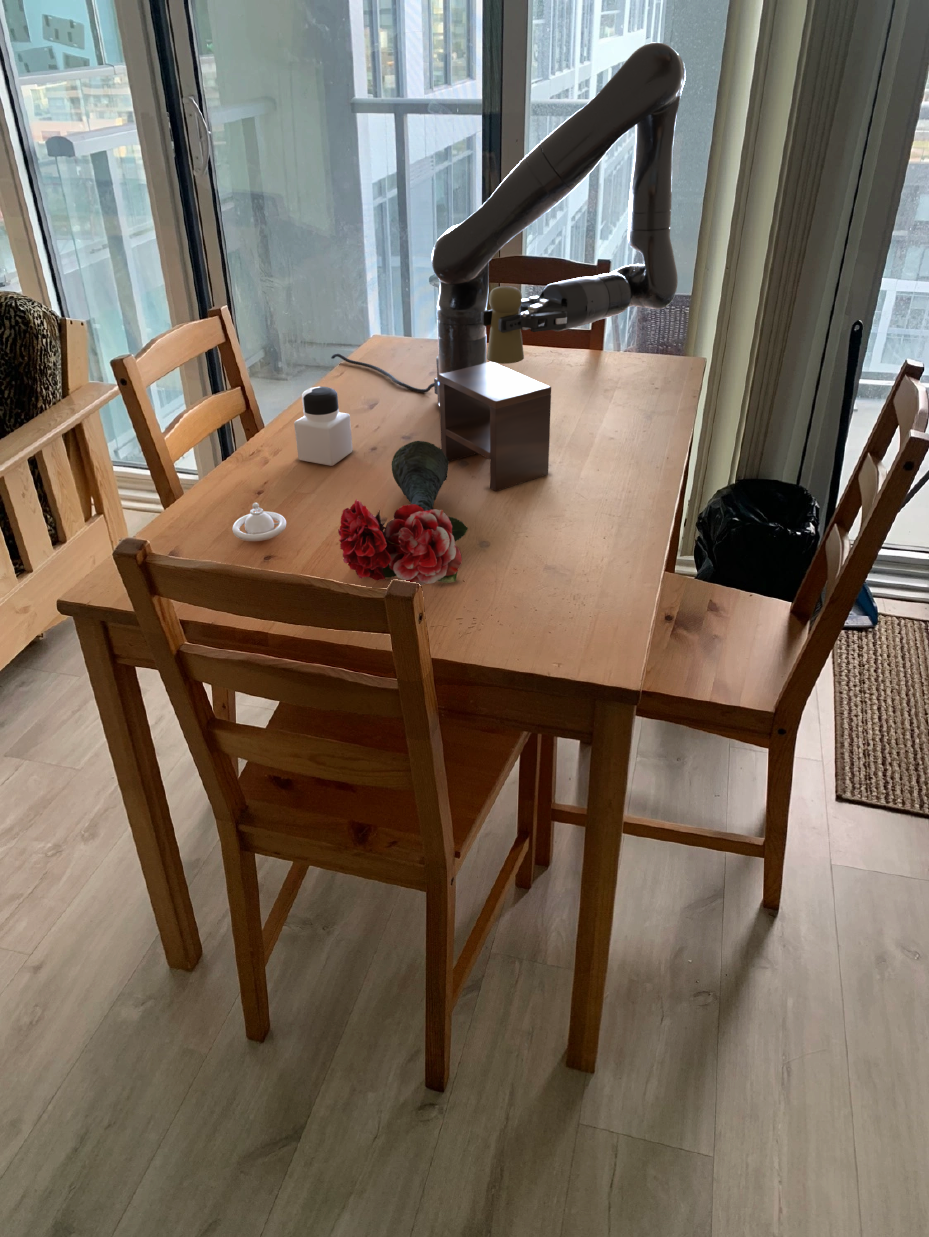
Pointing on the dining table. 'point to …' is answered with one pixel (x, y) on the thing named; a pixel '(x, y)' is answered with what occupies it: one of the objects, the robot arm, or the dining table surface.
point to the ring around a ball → (259, 525)
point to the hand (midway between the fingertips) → (491, 322)
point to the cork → (508, 343)
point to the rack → (496, 421)
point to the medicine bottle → (322, 428)
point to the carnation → (406, 525)
